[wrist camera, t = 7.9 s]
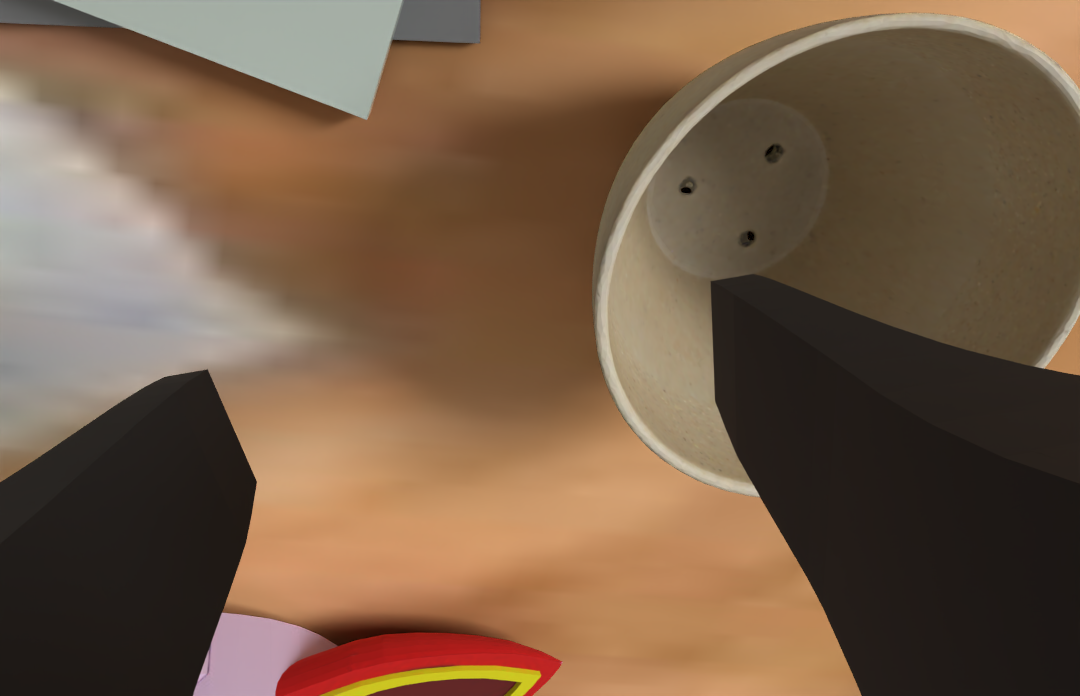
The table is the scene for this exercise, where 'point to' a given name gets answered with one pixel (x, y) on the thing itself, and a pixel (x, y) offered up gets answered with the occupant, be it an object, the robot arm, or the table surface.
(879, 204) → the flower pot
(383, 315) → the table surface
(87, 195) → the table surface
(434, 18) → the mat
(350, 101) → the lid
